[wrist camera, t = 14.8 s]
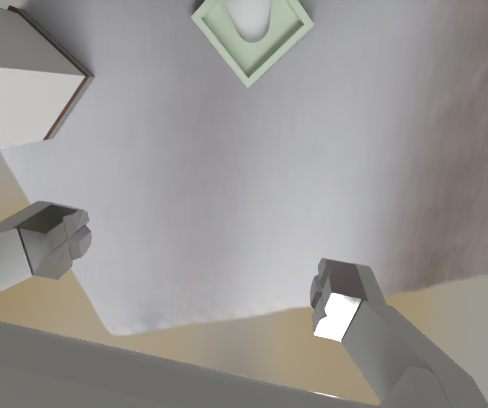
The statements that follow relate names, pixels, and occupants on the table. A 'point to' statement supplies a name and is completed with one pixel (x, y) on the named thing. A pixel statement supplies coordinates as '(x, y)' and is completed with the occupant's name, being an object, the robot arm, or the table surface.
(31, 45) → the notched white block
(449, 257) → the table surface
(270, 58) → the tray
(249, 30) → the gray bottle
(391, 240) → the table surface
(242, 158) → the table surface
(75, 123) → the table surface
